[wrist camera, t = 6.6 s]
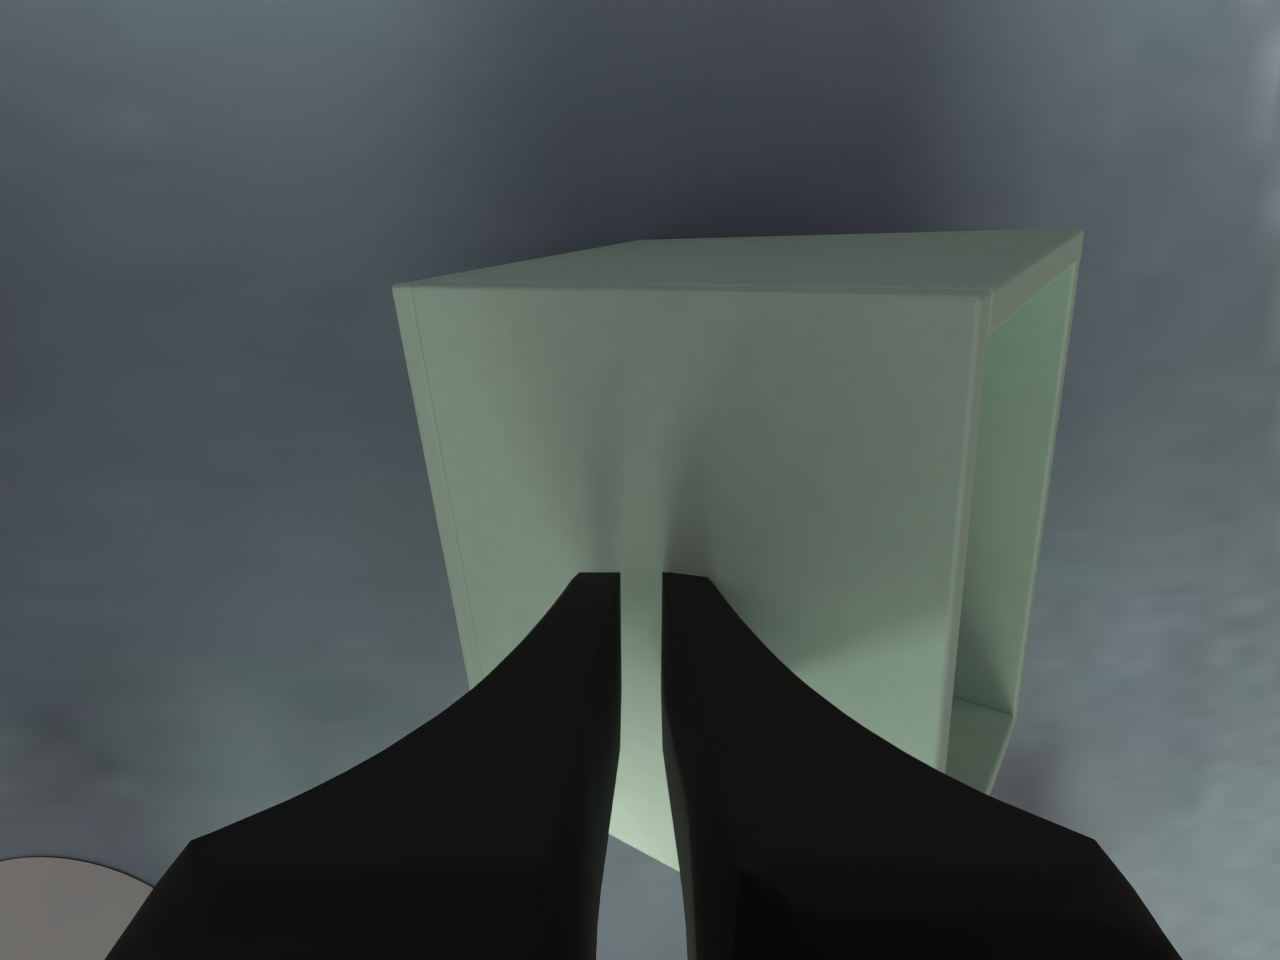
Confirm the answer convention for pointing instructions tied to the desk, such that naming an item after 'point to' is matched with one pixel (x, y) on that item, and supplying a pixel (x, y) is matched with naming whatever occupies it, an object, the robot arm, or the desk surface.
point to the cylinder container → (64, 908)
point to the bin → (759, 464)
